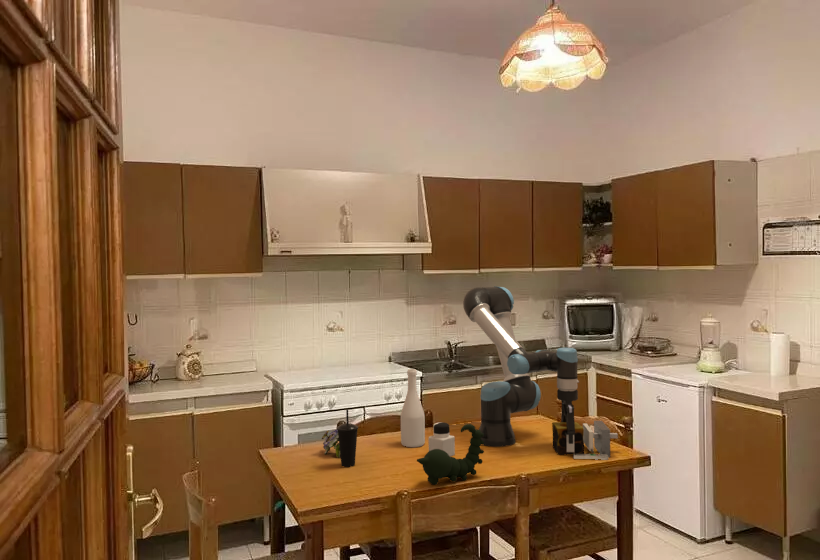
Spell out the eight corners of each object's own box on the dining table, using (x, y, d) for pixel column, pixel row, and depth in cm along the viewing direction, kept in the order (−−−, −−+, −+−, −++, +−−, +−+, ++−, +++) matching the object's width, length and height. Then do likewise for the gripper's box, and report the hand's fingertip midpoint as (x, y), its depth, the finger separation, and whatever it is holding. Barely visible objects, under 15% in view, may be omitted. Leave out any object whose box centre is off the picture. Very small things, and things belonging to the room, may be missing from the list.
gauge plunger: (591, 453, 229) (590, 434, 229) (582, 441, 245) (582, 423, 245) (623, 453, 228) (623, 434, 228) (613, 441, 244) (613, 423, 244)
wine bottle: (429, 445, 251) (428, 369, 250) (409, 449, 245) (408, 372, 245) (416, 440, 259) (414, 366, 258) (396, 444, 253) (395, 369, 253)
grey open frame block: (574, 459, 229) (573, 432, 229) (566, 446, 246) (566, 420, 246) (612, 460, 228) (612, 432, 228) (602, 446, 245) (601, 420, 245)
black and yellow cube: (584, 455, 234) (584, 428, 234) (557, 455, 235) (557, 428, 234) (578, 447, 244) (578, 421, 244) (552, 447, 245) (551, 421, 245)
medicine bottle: (455, 455, 237) (454, 423, 237) (442, 459, 232) (442, 426, 232) (440, 451, 242) (440, 420, 242) (428, 455, 237) (427, 423, 236)
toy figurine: (470, 475, 218) (407, 482, 206) (473, 420, 219) (411, 423, 206) (487, 483, 210) (422, 490, 198) (490, 426, 211) (426, 429, 198)
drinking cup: (342, 469, 222) (341, 412, 221) (334, 463, 229) (333, 408, 228) (362, 466, 225) (361, 410, 225) (353, 460, 232) (353, 406, 232)
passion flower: (327, 468, 241) (317, 439, 246) (354, 459, 245) (343, 431, 250) (330, 458, 232) (319, 428, 237) (357, 449, 236) (347, 420, 241)
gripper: (583, 395, 227) (583, 456, 228) (572, 383, 250) (573, 439, 251) (561, 395, 228) (562, 456, 229) (553, 383, 251) (553, 439, 251)
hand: (568, 447), depth 240 cm, fingers closed on black and yellow cube, 10 cm apart
